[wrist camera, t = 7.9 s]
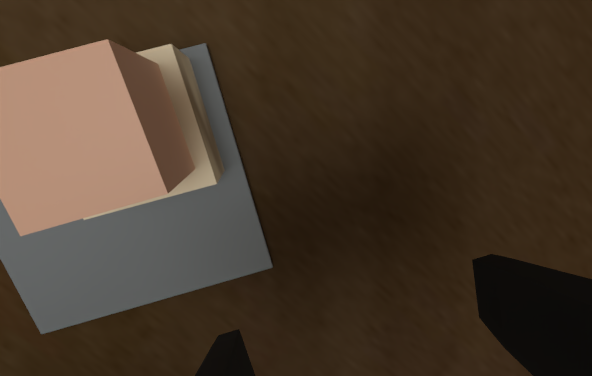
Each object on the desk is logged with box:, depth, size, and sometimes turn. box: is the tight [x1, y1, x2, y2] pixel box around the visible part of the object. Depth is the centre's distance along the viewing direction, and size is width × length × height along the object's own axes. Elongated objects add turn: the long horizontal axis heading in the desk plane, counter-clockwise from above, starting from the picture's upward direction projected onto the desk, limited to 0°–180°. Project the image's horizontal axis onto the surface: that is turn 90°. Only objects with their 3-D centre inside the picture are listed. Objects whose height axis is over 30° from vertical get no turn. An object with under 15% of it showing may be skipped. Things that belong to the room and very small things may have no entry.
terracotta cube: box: [0, 39, 195, 236], centre depth 11 cm, size 4×4×4 cm
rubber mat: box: [0, 43, 273, 334], centre depth 18 cm, size 13×14×1 cm
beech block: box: [83, 44, 225, 220], centre depth 15 cm, size 6×6×4 cm
